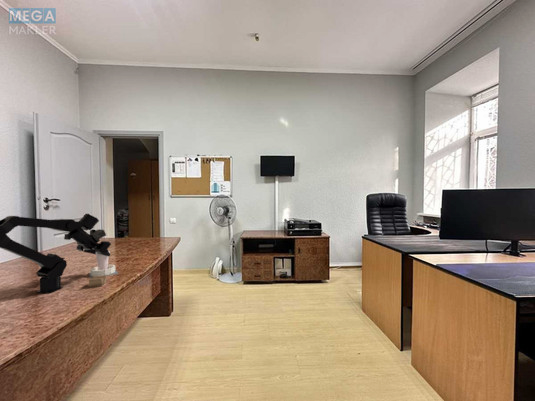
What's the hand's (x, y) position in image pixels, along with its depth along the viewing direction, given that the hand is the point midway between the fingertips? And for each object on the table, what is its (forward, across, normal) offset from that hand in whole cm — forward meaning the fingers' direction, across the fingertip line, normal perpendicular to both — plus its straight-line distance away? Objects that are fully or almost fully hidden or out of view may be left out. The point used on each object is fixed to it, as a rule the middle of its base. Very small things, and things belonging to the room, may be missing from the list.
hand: (105, 255), depth 127 cm
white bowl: (+6, 0, +7) cm, 9 cm away
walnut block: (-2, -14, +17) cm, 22 cm away
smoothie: (+5, 0, +6) cm, 8 cm away
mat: (+6, 0, +8) cm, 10 cm away
